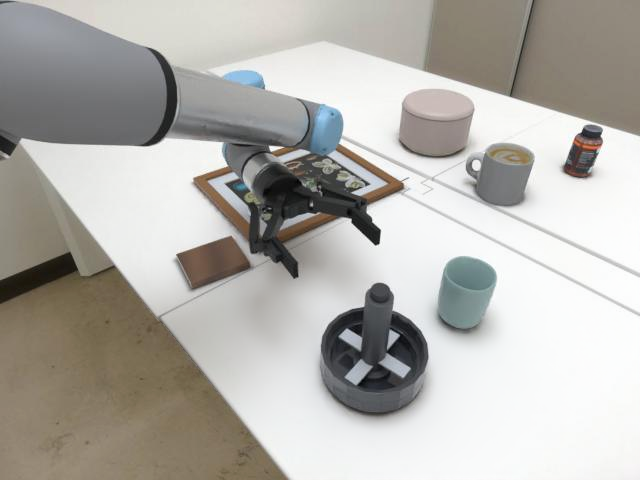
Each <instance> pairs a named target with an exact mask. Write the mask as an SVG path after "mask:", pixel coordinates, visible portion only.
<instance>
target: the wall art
mask: <svg viewBox="0 0 640 480" xmlns="http://www.w3.org/2000/svg"><path fill="white" fill-rule="evenodd" d="M271 152H272V153H273V154H274V155H275V156H276V157H277V158H278V159H279V160H280V161H281V162H283V163H284V164H285V165H286V166H287V168H288V169H290V170H291V171H292V172H293V173H294V174H295V175H296V176H297V177H298V178H299V180H300V181H301V183H302V184H303V185H304V186H306V187H309V188H312V187H315V186H317V185H316V182H317V181H319V180H321V181H323V182H325V183H326V184H328V185H329V186H332V187H335V188H338V189H341V190H344V191H347V192H350V193H353V194H355V195H358V196H361V197H364V198H367V205H370V204H372V203H374V202H377V201H379V200H381V199H383V198H385V197H388V196H390V195H392V194H394V193H396V192H398V191H401V190H403V189H404V186H405V183H404V182H402V181H401V180H399V179H397V178H396V177H394V176H393V175H391V174H389V173H388V172H386V171H385V170H383V169H381V168H380V167H378V166H376V165H375V164H373V163H372V162H370V161H368V160H366V159H365V158H364V157H362V156H361V155H359V154H357V153H355V152H354V151H352V150H351V149H349V148H347V147H346V146H345V145H342V144H341V143H339V144H338V146H337V148H336V149H335V150H334V151H333V152H332V153H330V154H329V155H321V154H317V153H310V152H309V151H306V150H302V149H296V148H286V147H280V148H278V149H275V150H271ZM192 181H193V184H194V185H195V186H196V187H197V188H198V189H199V190H200V191H201V192H202V193H203V194H204V195H205V196H206V197H207V198H208V199H209V200H210V201H211V202H212V204H214V205H215V207H216V208H218V210H219V211H220V212H221V213H222V214H223V215H224V216H225V217H226V218H227V219H228V220H229V221H230V222H231V223H232V224H233V226H234V227H236V229H237V230H238V231H239V232H240V233H241V234H242V235H243V237H245V238H246V239H247V240H248V238H249V226H250V218H249V212H248V203H249V202H254V203H255V204H256V205H259V204H261V203H260V202H259V201H258V200H257V198H256V197H255V196H254V195H253V193H252V192H251V191H250V190H249V189H248V188H247V186H246V185H245V184H244V183H243V182H242V181H241V180H240V178H239V177H238V176H237V175H236V174H235V173H234V172H233V171H232V170H231V169H230V167H229V166H228V165H227V166H224V167H221V168H218V169H214V170H212V171H209V172H206V173H203V174H200V175H198V176H195V177H193V178H192ZM310 206H312V207H313V200H311V205H310ZM351 211H352V210H351ZM270 217H271V214H268V213H266V212H264V213H263V216H262V217H261V218H262V219H260V234H259V238H262V236H263V233H264V231H265V229H266V226H267V224H268V222H269V220H270ZM338 218H340V217H339V216H334V215H329V214H324V213H319V212H318V213H317V214H312V213H306V214H303V215H298V216H296V217H294V218H292V219H290V218H285V220H284V223H283V225H282V226H281V228H280V230H279V233H278V235H277V237H278V239H279V240H280V241H281V242H282V243H284V242H286V241H289V240H290V239H293V238H295V237H297V236H299V235H301V234H302V235H303V234H304V233H306V232H308V231H311V230H313V229H315V228H318V227H320V226H322V225H325V224H326V223H329V222H332V221H333V220H336V219H338ZM261 252H262V251H258V253H261Z"/></svg>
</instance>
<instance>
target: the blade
mask: <svg viewBox="0 0 640 480" xmlns="http://www.w3.org/2000/svg"><path fill="white" fill-rule="evenodd" d="M394 302H395V295H394V293H393V291H392V290H391V288H390V286H389V285H387V284H386V283H384V282H376V283H373V284H372V285H371V287H369V288H368V289H367V290H366V292H365V295H364V306H363V307H364V318H363V331H362V337H360V336H358V335H357V334H355V333H353V332H352V331H350V330H349V329H346V330H345V331H344V332H343V333H342V334H341V335H340V336H339V339H341V340H342V341H344V342H345V343H347V344H348V345H350V346H352V347H353V348H355V349H356V350H358V351H357V352H356V353H355V355H354V358H353V368H352V370H351V371H350V372H349V373H348V374H347V375H346V376H345V377H344V379H345V380H347V381H348V382H349V383H352V384H354V385H358V384H359V383H360V382H361V381H362V380H366V381H369V382H379V381H382V380H384V379H385V378H387V377H388V376H389V374H390V372H392V373H394V374H395V375H397V376H398V377H400V378H401V379H404V378H405V377H406V375H407V374H408V373H409V372H410V370H411V368H410V367H408V366H407V365H405V364H403V363H402V362H400V361H399V360H397V359H395V358H394V357H392V356H390V355H389V354H388V353H387V351H388V350H389V348H390V347H391V346H392V345H393V344H394V343H395V342H396V340H397V339H398V338H399V337H400V335H399V334H397V333H395V332H394V331H392V330H390V325H391V317H392V310H393V309H394ZM393 311H394V310H393Z"/></svg>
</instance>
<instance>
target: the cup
mask: <svg viewBox="0 0 640 480" xmlns="http://www.w3.org/2000/svg"><path fill="white" fill-rule="evenodd" d="M497 282H498V275H497V271H496V270H495V268H494V267H493V266H492V265H491V264H489V262H486V261H484V260H482V259H481V258H477V257H473V256H468V255H460V256H455V257H453V258H451V259H449V260H448V262H446V264H445V266H444V268H443V271H442V275H441V280H440V283H439V289H438V295H437V310H438V314H439V316H440V317H441V319H442V320H443V321H444V322H445V323H447V324H448V325H450V326H451V327H453V328H457V329H463V330H466V329H471V328H473V327H475V326H477V325H478V324H479V323H480V322H481V321H482V319H483V318H484V316H485V315H486V313H487V311H488V309H489V306H490V303H491V302H492V298H493V295H494V293H495V290H496V286H497Z"/></svg>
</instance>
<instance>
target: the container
mask: <svg viewBox="0 0 640 480" xmlns="http://www.w3.org/2000/svg"><path fill="white" fill-rule="evenodd" d="M475 109H476V108H475V104H474V102H473V100H471V98H470V97H468V96H467V95H465V94H463V93H461V92H457V91H454V90H450V89H445V88H423V89H417V90H414V91H411V92H410V93H408V94H407V95H405V97H404V98H403V100H402V102H401V110H400V111H401V112H400V122H399V130H398V139H399V140H400V142H401V143H402V145H404V146H405V147H406V148H408V149H409V150H410V151H412V152H414V153H417V154H419V155H423V156H429V157H444V156H450V155H453V154H455V153H457V152H458V151H460V150H462V149H464V148H465V147H466V146H467V144H468V139H469V135H470V131H471V126H472V123H473V118H474V112H475Z"/></svg>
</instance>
